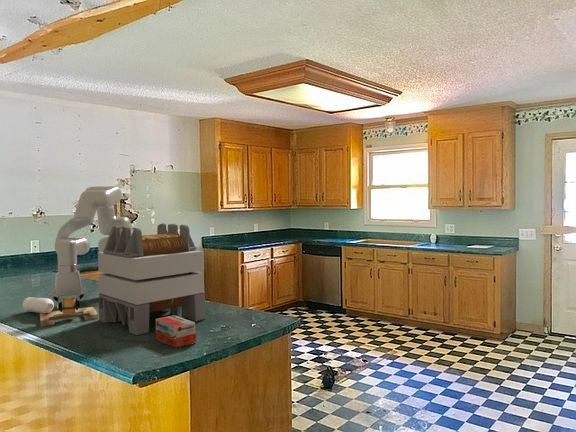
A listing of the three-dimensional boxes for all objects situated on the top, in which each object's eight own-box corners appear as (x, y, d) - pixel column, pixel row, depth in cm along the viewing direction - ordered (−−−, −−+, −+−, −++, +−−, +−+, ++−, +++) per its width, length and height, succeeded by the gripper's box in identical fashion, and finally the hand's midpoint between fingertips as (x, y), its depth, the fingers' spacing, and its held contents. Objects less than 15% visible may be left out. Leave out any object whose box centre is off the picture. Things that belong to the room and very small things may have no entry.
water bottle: (21, 311, 219) (41, 314, 202) (23, 297, 220) (43, 298, 203) (41, 311, 225) (62, 313, 208) (42, 297, 226) (64, 298, 209)
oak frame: (93, 311, 220) (93, 304, 220) (98, 318, 206) (98, 311, 206) (39, 317, 210) (39, 310, 210) (40, 326, 196) (40, 318, 195)
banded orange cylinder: (75, 315, 208) (74, 297, 208) (76, 317, 204) (75, 299, 204) (62, 316, 206) (62, 298, 206) (63, 319, 202) (62, 300, 201)
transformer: (207, 319, 203) (205, 224, 201) (136, 336, 180) (133, 228, 178) (165, 306, 227) (163, 221, 225) (97, 320, 204) (94, 225, 202)
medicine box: (196, 344, 170) (196, 321, 170) (176, 349, 164) (175, 326, 164) (174, 335, 181) (174, 314, 180) (154, 340, 175) (154, 318, 175)
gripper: (88, 265, 211) (89, 306, 212) (44, 269, 203) (46, 311, 204) (90, 268, 205) (91, 309, 206) (45, 271, 197) (47, 315, 197)
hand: (69, 310), depth 205 cm, fingers open, 5 cm apart
